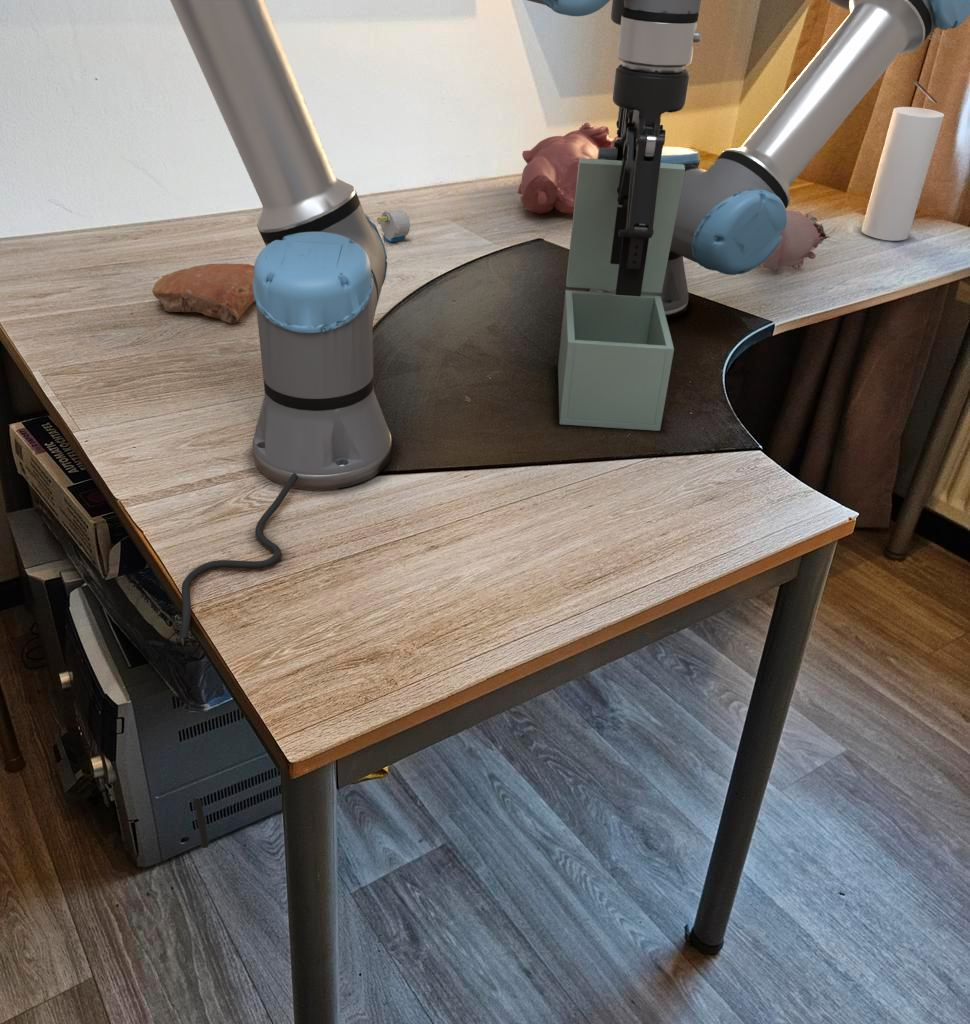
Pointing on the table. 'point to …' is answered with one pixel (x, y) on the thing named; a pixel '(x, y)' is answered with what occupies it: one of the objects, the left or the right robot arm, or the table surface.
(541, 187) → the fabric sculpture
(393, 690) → the table surface
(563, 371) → the chest
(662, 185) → the lid
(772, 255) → the toy
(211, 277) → the ceramic shard
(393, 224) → the electric motor
